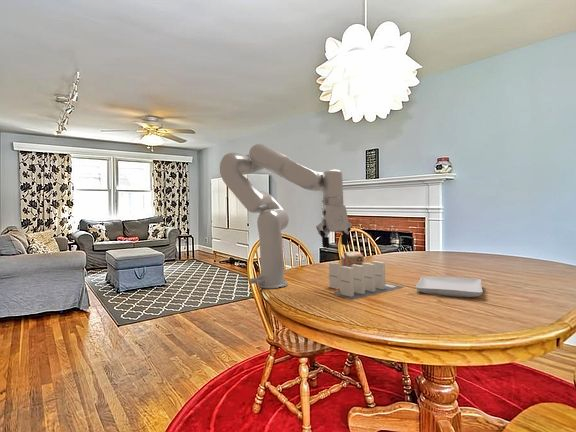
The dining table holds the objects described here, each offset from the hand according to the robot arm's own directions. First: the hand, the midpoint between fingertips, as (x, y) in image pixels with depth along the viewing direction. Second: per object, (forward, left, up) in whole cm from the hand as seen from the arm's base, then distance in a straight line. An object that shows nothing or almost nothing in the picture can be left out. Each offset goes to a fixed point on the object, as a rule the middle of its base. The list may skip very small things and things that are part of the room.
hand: (335, 246), depth 134 cm
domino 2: (-4, -11, -16) cm, 20 cm away
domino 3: (+1, -11, -16) cm, 19 cm away
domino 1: (0, 0, -17) cm, 17 cm away
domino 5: (+12, -11, -16) cm, 23 cm away
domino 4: (+7, -11, -16) cm, 21 cm away
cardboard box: (+16, +8, -17) cm, 24 cm away
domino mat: (+7, -11, -17) cm, 21 cm away
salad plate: (+30, -29, -17) cm, 45 cm away
